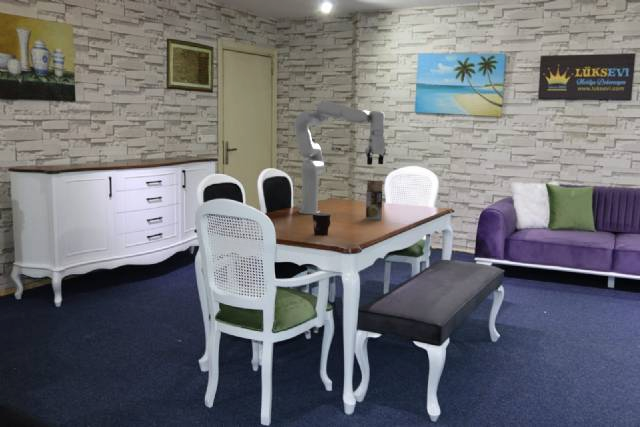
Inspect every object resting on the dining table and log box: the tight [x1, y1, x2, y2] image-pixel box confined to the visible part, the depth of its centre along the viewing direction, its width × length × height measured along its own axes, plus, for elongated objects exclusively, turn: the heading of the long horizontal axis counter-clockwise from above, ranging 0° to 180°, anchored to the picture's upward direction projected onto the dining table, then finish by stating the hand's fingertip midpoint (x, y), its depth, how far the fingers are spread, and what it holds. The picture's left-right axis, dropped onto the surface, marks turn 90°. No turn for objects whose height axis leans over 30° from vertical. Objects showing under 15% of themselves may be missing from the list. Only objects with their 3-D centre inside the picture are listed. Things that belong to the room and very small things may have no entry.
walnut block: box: [366, 179, 383, 192], centre depth 337 cm, size 6×6×6 cm
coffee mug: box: [312, 212, 331, 237], centre depth 284 cm, size 12×9×10 cm
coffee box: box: [365, 190, 383, 221], centre depth 339 cm, size 9×6×16 cm
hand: (375, 164), depth 336 cm, fingers open, 9 cm apart
